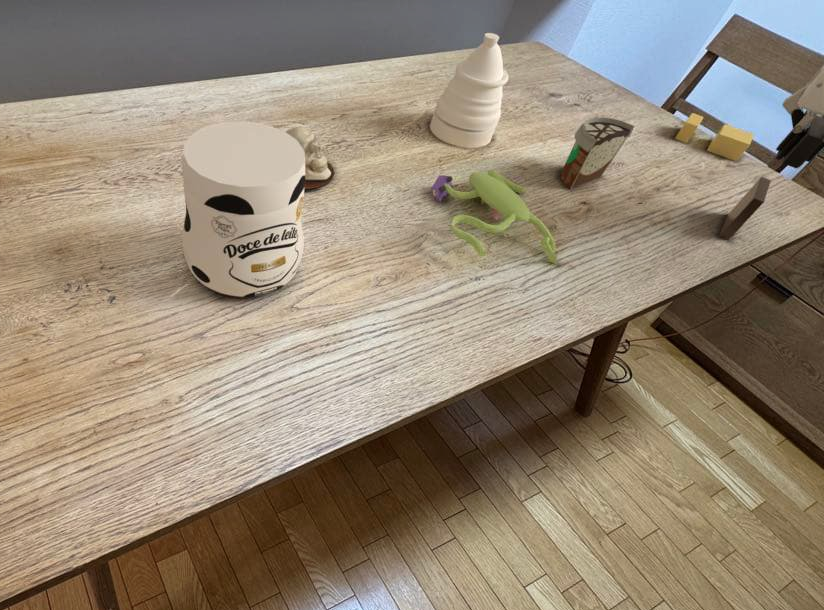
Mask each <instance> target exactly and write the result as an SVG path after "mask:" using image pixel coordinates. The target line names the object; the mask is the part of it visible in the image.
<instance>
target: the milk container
mask: <svg viewBox="0 0 824 610" xmlns="http://www.w3.org/2000/svg"><path fill="white" fill-rule="evenodd" d="M181 157H182V158H181V175H182V180H183V182H182V183H183V194H184V202H185V217H184V222H183V227H182V233H181V244H182V251H183V255H184V259H185V263H186V265H187V268H188V269H189V271H190V272H191V274H192V275H193V277H194V278H195V279H196V280H197V281H198V282H199V283H200V284H201V285H202V286H203V287H205V288H207V289H210V290H211V291H212V292H215V293H218V294H220V295H223V296H227V297H232V298H240V299H241V298H244V299H246V298H257V297H258V298H259V297H263V296H266V295H269V294H272V293H275V292H277V291H279V290H281V289H282V288H283V287H285V286H286V285H288V283H290V282H291V280H292V279H293V278H294V277H295V276H296V274H297V271H298V269H299V268H300V264H301V262H302V260H303V259H302V258H303V255H304V254H303V253H304V247H305V237H304V230H303V229H304V228H303V225H302V208H303V203H304V196H305V189H304V185H305V152H304V149H303V148H302V147H301V145H300V144H299V142H298V141H297V140H296V139H295V138H293V137H292V136H290V135H289V134H287V133H286V131H285V130H282V129H280V128H277V127H274V126H271V125H269V124H265V123H259V122H252V121H245V120H244V121H241V120H240V121H225V122H224V121H223V122H218V123H214V124H209V125H206V126H205V127H203V128H200V129H198V130H196V131H194V132H193V133H192V134H191V135H190V136H189V137H188V138H187V139H186V140H185V142H184V145H183V149H182V156H181Z"/></svg>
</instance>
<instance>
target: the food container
mask: <svg viewBox="0 0 824 610" xmlns="http://www.w3.org/2000/svg"><path fill="white" fill-rule="evenodd" d="M635 127H636V126H635V125H634V124H631V123H629V122H626V121H623V120H620V119H616V118H611V117H605V116H604V117H603V116H601V117H600V116H597V117H591V118H588V119H586V120H585V122H583V123H582V124H581V125H580V127H579V128H578V129H577V130H576V131H575V134H574V140H575V141H574V143H573V146H572V148H571V150H570V152H569V154H568V157H567V159H566V161H565V164H564V166H563V168H562V170H561V172H560V175H559V178H560V181H561V183H562V184H563V185H564V186H565V187H566V188H568V189H569V190H572V189H573V188H576V187H579V186H581V185H584V184H586V183H590V182H592V181H594V180H596V179H599V178H602V177H603V176H604V174H605V172H606V171H607V169H608V167H609V166H610V164H611V163H612V162H613V161H614V159H615V157H616V156H617V154H618V153H619V151H620V150H621V148H622V146H623V145H624V144H625V142H626V140H627V139H628V138H630V137H631V135H632V133H633V132H634V129H635Z"/></svg>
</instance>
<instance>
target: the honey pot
mask: <svg viewBox="0 0 824 610" xmlns="http://www.w3.org/2000/svg"><path fill="white" fill-rule="evenodd" d="M499 40H500V35H498V34H496V33H492V32H486V33H484V36H483V42H482V43H481V44H480V45H478V46H477V47H476V48H475V49H473V51H472V52H471V53H470V54H469V56H468V57H466V59H465V60H463V61H461V62H459V63H458V64H457V65H456V67H455V74H454V76H453V78H452V79H450V80H449V82H448V84H447V86H446V87H445V89H444V91H443V92H442V94H441V95H440V96H439V97H438V99H437V101H436V104H435V105H436V106H435V107H434V111H433V114H432V117H431V120H430V123H429V129H430V131H431V133H432V134H433V135H434V136H435V137H436V138H438V139H439V140H441V141H442V142H444V143H446V144H448V145H452V146H456V147H460V148H465V149H466V148H469V149H475V148H482V147H484V146H486V145H488V144H489V143H490V142H491V140H492V138H493V136H494V133H495V131H496V128H497V126H498V123H499V120H500V119H501V115H502V110H501V107H502V104H503V103H502V100H503V97H504V94H503V86H505V85H506V84H507V83H508V81H509V78H510V77H509V73H508V72H507V71H506V70H505V69H504V63H503V61H504V60H503V55H502V51H501V47H500V45H499V44H498V42H499Z"/></svg>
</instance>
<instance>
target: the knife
mask: <svg viewBox="0 0 824 610" xmlns="http://www.w3.org/2000/svg"><path fill="white" fill-rule="evenodd" d="M823 141H824V116H823V115H820V114H818V115H817V116H816V117H815V118H814V119H813V120H812V121H811V122H810V123H809V124H808V125H807V126H806V127H805V131H804V132H803V133H802V136H801V138H800V139H799V140H798V141H797V142H796V143H795V144H794V145H793V147H792V148H791V149H790V150H789V151H788V152H787V153H786V154H785V155H784V157H783V158H782V161H781V162H782V163H781V164H783V165H786V166H788V167H791V168H794V169H796V170H797V169H798V168H800V167H801V166H802V165H803V164H804V163H805V162H806V161H805V160H806V159H807V158H808V157H809V155H810V154H811V153H812V152H813V151H814V150H815V149H816V148H817V147H818V146H819V145H820V144H821V143H822V142H823ZM804 161H805V162H804ZM803 162H804V163H803ZM802 163H803V164H802ZM801 164H802V165H801ZM800 165H801V166H800ZM799 166H800V167H799Z"/></svg>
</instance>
